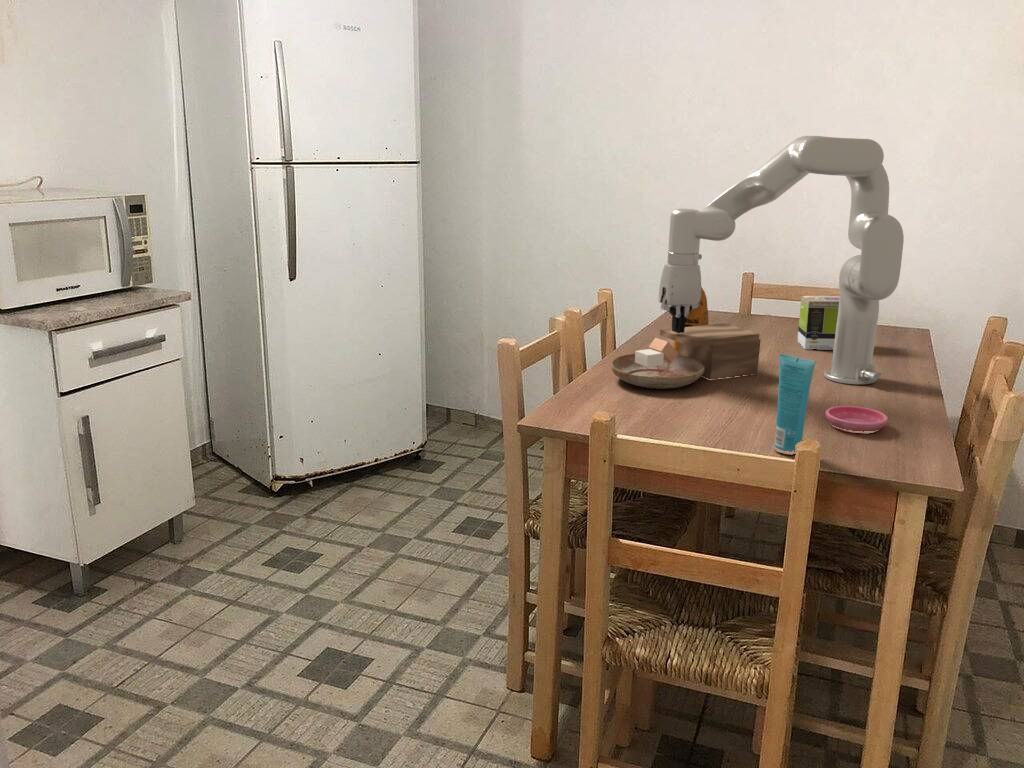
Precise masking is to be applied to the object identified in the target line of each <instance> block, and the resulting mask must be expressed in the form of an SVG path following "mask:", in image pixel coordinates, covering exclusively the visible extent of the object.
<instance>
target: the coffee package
mask: <svg viewBox="0 0 1024 768" xmlns="http://www.w3.org/2000/svg"><path fill="white" fill-rule="evenodd" d="M698 304H699V306H698V307H697V308H695V309H692V310H691V311H690V312H689V313H688V316H687V317H686V321H685V327H691V326H702V325H710V323H709V309H708V299H707V295H706V293H705V290H704V288H703V287H702V285H701V297H700V301H699V302H698ZM679 347H680V342H677V341H674V340H673V348H674V349H675V350H676V351H677V352H678V355H679Z"/></svg>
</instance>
